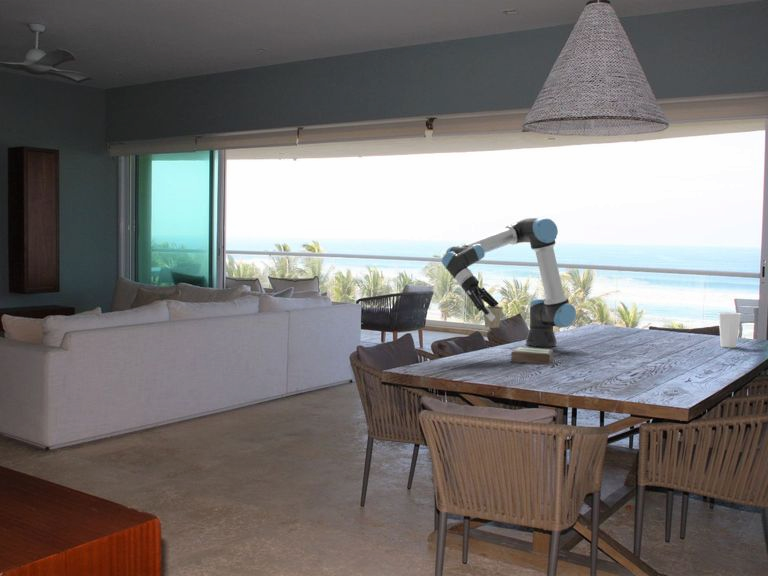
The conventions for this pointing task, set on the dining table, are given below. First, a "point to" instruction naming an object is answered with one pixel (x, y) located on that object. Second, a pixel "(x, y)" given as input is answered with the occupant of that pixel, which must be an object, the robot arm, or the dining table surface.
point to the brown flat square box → (532, 355)
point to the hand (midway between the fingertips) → (498, 318)
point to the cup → (729, 328)
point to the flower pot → (496, 321)
